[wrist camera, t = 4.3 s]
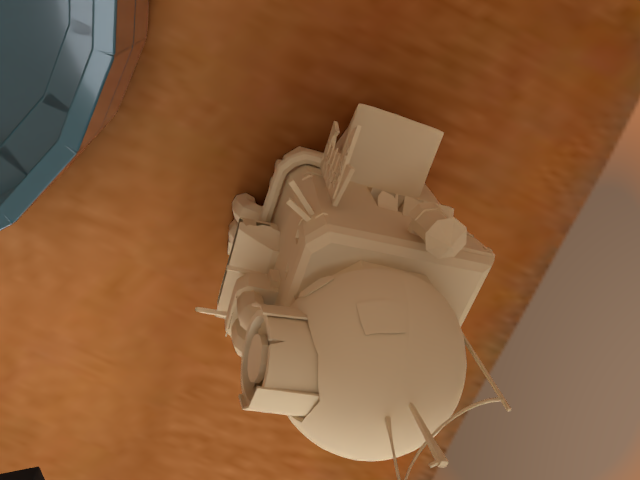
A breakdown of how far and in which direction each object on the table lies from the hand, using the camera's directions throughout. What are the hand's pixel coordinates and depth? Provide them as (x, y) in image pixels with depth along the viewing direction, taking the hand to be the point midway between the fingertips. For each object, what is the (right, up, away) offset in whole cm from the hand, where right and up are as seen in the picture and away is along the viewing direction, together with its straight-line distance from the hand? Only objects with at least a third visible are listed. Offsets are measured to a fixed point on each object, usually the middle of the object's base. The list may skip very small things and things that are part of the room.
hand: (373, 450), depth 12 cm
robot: (-1, +5, +12) cm, 13 cm away
